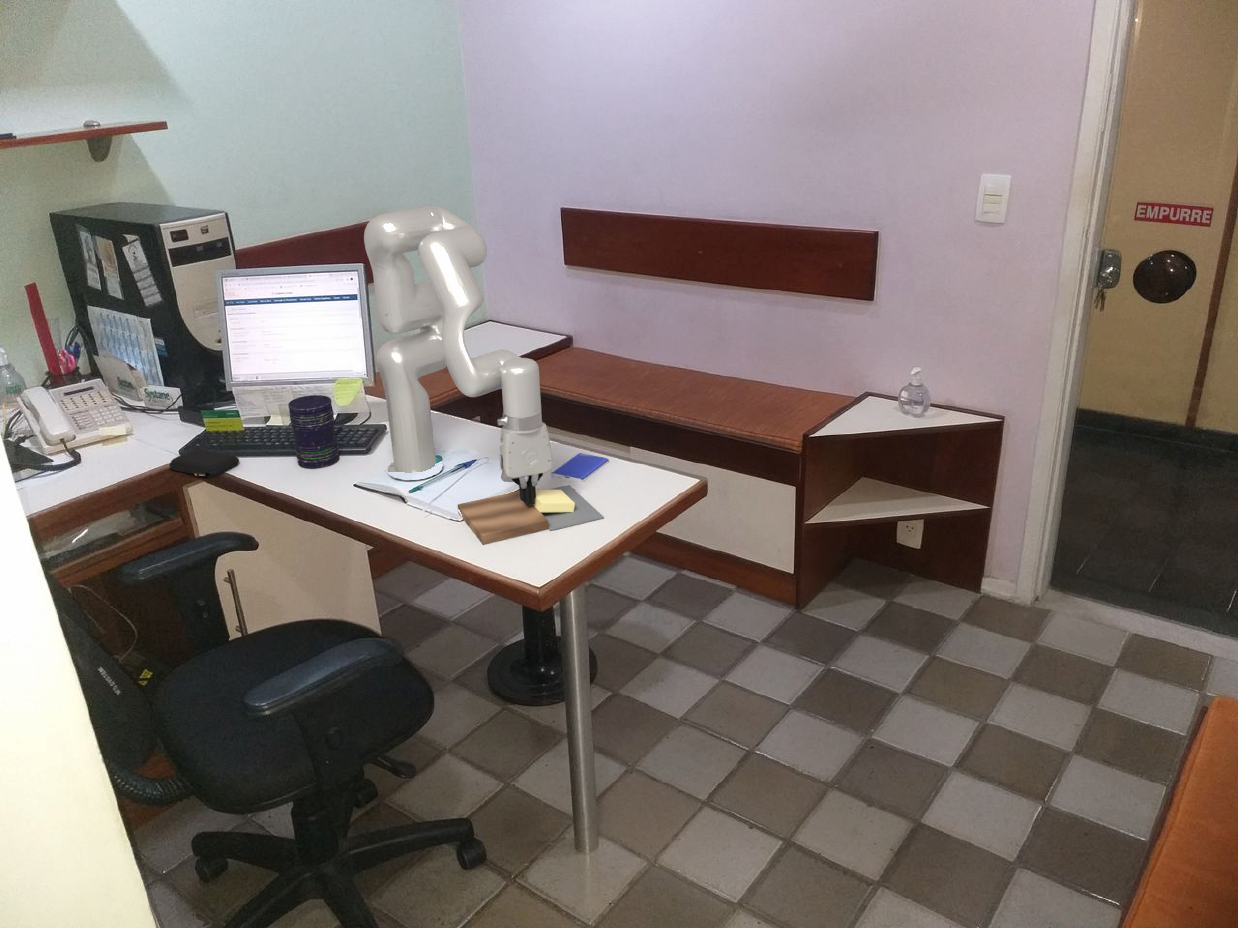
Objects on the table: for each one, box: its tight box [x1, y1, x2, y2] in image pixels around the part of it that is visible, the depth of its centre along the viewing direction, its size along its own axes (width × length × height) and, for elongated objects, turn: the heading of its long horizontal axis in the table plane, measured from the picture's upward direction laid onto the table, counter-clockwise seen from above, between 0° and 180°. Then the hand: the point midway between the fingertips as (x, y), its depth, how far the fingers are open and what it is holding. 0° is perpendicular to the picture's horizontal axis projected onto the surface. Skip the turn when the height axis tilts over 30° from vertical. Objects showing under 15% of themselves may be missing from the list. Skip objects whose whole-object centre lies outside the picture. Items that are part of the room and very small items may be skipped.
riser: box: [457, 490, 549, 545], centre depth 200 cm, size 16×14×2 cm
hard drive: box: [551, 452, 610, 483], centre depth 224 cm, size 2×8×12 cm
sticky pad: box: [533, 489, 575, 512], centre depth 204 cm, size 8×8×2 cm
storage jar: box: [287, 394, 341, 470], centre depth 228 cm, size 10×10×15 cm
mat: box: [541, 484, 605, 532], centre depth 206 cm, size 18×12×1 cm, turn 26°
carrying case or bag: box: [169, 448, 240, 479], centre depth 228 cm, size 11×3×15 cm
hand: (528, 502), depth 202 cm, fingers closed
